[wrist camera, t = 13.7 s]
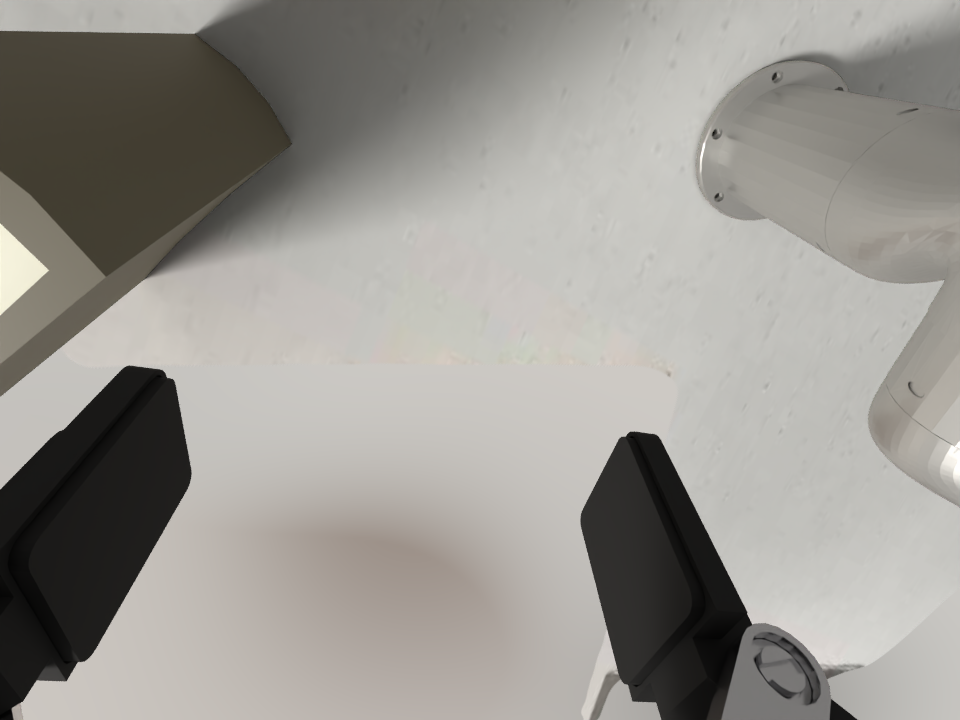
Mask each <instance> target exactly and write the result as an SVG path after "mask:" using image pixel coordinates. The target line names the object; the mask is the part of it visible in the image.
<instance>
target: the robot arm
mask: <svg viewBox="0 0 960 720" xmlns="http://www.w3.org/2000/svg"><path fill="white" fill-rule="evenodd" d="M773 74H774V77H773V78H772V76H773ZM714 130H715V133H714V134H713V135H712V132H713V131H714ZM696 176H697V180H698V184H699V188H700V190H701V192H702V194H703V195H704V197H705V199H706V200H707V201H708V202H709V203H710V204H711V205H712V206H713V207H714V208H715V209H717V210H718V211H719V212H721V213H723V214H725V215H727V216H729V217H731V218H735V219H740V220H760V219H765V218H768V219H769V220H771V221H773V222H774V223H776V224H778V225H779V226H781V227H782V228H784V229H786V230H787V231H789V232H791V233H792V234H794V235H796V236H797V237H799V238H801V239H802V240H804V241H805V242H807V243H809V244H810V245H812V246H814V247H815V248H817V249H819V250H820V251H822V252H823V253H825V254H827V255H828V256H830V257H832V258H833V259H835V260H837V261H838V262H840V263H841V264H843V265H845V266H847V267H849V268H850V269H852V270H854V271H855V272H857V273H859V274H861V275H863V276H866V277H868V278H871V279H875V280H878V281H882V282H889V283H899V284H913V283H927V282H935V281H941V280H944V283H943V285H942V286H941V288H940V290H939V292H938V293H937V295H936V297H935V298H934V300H933V302H932V303H931V305H930V306H929V308H928V312H927V313H926V315H925V317H924V318H923V320H922V321H921V323H920V324H919V326H918V327H917V329H916V330H915V332H914V334H913V335H912V337H911V338H910V340H909V341H908V343H907V344H906V346H905V347H904V349H903V351H902V352H901V354H900V355H899V357H898V358H897V360H896V361H895V363H894V364H893V366H892V368H891V369H890V371H889V372H888V374H887V376H886V378H885V379H884V381H883V382H882V384H881V386H880V387H879V389H878V391H877V393H876V395H875V397H874V398H873V401H872V403H871V406H870V409H869V414H868V426H869V430H870V434H871V437H872V438H873V440H874V442H875V444H876V445H877V447H878V448H879V450H880V451H881V452H882V453H883V454H884V455H885V457H886V458H887V459H888V460H889V461H890V462H891V463H893V464H894V465H895V466H896V467H897V468H898V469H900V470H901V471H902V472H903V473H905V474H906V475H907V476H909V477H910V478H912V479H913V480H915V481H916V482H918V483H919V484H921V485H922V486H924V487H925V488H927V489H929V490H930V491H932V492H933V493H935V494H937V495H939V496H940V497H942V498H944V499H946V500H947V501H949V502H951V503H953V504H955V505H956V506H958V507H960V110H953V109H947V108H941V107H935V106H929V105H923V104H917V103H911V102H905V101H899V100H893V99H887V98H881V97H875V96H869V95H863V94H857V93H851V92H849V89H848V87H847V85H846V84H845V82H844V81H843V79H842V78H841V76H839V75H838V74H837V73H836V72H835V71H834V70H832V69H831V68H829V67H827V66H825V65H822V64H820V63H816V62H809V61H786V62H781V63H776V64H773V65H771V66H769V67H766V68H764V69H761V70H759V71H757V72H756V73H754V74H753V75H751V76H749V77H748V78H746V79H745V80H743V81H742V82H741V83H740V84H739V85H737V86H736V87H735V88H734V89H733V90H731V91H730V93H729V94H728V95H727V96H726V97H725V98H724V99H723V100H722V102H721V103H720V104H719V105H718V107H717V108H716V110H715V111H714V113H713V114H712V116H711V117H710V119H709V121H708V123H707V125H706V127H705V129H704V131H703V133H702V136H701V139H700V143H699V146H698V150H697V158H696ZM716 194H717V195H716ZM715 195H716V196H715ZM190 480H191V466H190V461H189V455H188V450H187V444H186V439H185V434H184V429H183V424H182V417H181V412H180V407H179V402H178V396H177V390H176V385H175V382H174V380H173V379H170V378H167V377H166V374H165V372H164V371H163V370H159V369H152V368H144V367H136V366H126V367H125V368H123V369H122V370H121V371H120V372H119V373H118V374H117V375H116V376H115V377H114V378H113V379H112V380H111V381H110V382H109V383H108V385H106V387H105V388H104V389H103V390H102V391H101V392H100V393H99V394H98V395H97V396H96V397H95V398H94V399H93V400H92V401H91V402H90V403H89V404H88V405H87V406H86V407H85V408H84V409H83V410H82V411H81V412H80V413H79V415H78V416H77V417H76V418H75V419H74V420H73V421H72V422H71V423H70V424H69V425H68V426H67V427H66V428H65V429H64V430H62V431H59V432H58V433H56V434H55V435H54V436H53V437H52V438H50V440H48V441H47V443H45V445H44V446H43V447H42V448H41V449H40V450H39V451H38V452H37V453H36V454H35V455H34V456H33V457H32V458H31V459H30V460H29V461H28V462H27V463H26V464H25V465H24V466H23V467H22V468H21V469H20V470H19V471H18V472H17V473H16V474H15V475H14V476H13V477H12V478H11V479H10V480H9V481H8V482H7V483H6V484H5V486H3V487H2V489H1V490H0V720H23V716H22V710H21V705H20V703H21V702H23V701H24V699H25V697H26V696H27V694H28V693H29V691H30V690H31V688H32V686H33V685H34V683H35V682H36V680H44V681H67V679H68V678H69V676H70V674H71V673H72V671H73V669H74V668H75V666H76V664H77V663H78V662H83V661H86V660H87V659H88V658H89V657H90V656H91V655H92V654H93V652H94V650H95V649H96V648H97V646H98V644H99V642H100V641H101V639H102V637H103V635H104V634H105V632H106V630H107V628H108V627H109V625H110V623H111V621H112V620H113V618H114V616H115V614H116V613H117V611H118V609H119V607H120V606H121V604H122V602H123V601H124V599H125V597H126V595H127V593H128V592H129V590H130V588H131V586H132V585H133V583H134V581H135V580H136V578H137V576H138V574H139V573H140V571H141V569H142V567H143V566H144V564H145V562H146V560H147V559H148V557H149V555H150V553H151V552H152V550H153V548H154V546H155V545H156V543H157V541H158V540H159V538H160V536H161V534H162V533H163V531H164V529H165V527H166V526H167V524H168V522H169V520H170V519H171V517H172V515H173V513H174V512H175V510H176V508H177V506H178V505H179V503H180V501H181V499H182V498H183V496H184V494H185V492H186V491H187V489H188V486H189V484H190ZM581 528H582V532H583V536H584V540H585V544H586V548H587V552H588V556H589V560H590V564H591V567H592V571H593V575H594V579H595V583H596V587H597V591H598V595H599V599H600V603H601V606H602V610H603V614H604V618H605V622H606V626H607V630H608V634H609V638H610V642H611V646H612V650H613V653H614V657H615V661H616V665H617V669H618V673H619V676H620V678H621V680H622V682H623V683H624V684H628V686H629V689H630V693H631V697H632V701H636V702H656V703H657V706H658V710H659V713H660V716H661V720H857V719H856V718H854V717H853V716H852V715H851V714H850V713H848V712H847V711H846V710H844V709H843V708H842V707H841V706H839V705H838V704H837V703H836V702H834V701H833V700H832V699H831V695H830V686H829V684H828V681H827V679H826V676H825V674H824V671H823V670H822V668H821V667H820V665H819V664H818V662H817V660H816V659H815V657H814V656H813V655H812V654H811V653H810V652H809V651H808V650H807V648H806V647H805V646H804V645H803V644H802V643H801V642H799V641H798V640H797V639H796V638H794V637H793V636H792V635H791V634H789V633H787V632H785V631H784V630H782V629H780V628H778V627H776V626H772V625H769V624H766V623H761V624H753V625H752V623H751V621H750V619H749V617H748V615H747V611H746V609H745V607H744V605H743V603H742V601H741V599H740V597H739V595H738V593H737V591H736V589H735V587H734V585H733V583H732V581H731V579H730V577H729V575H728V573H727V571H726V569H725V567H724V565H723V563H722V561H721V559H720V557H719V555H718V553H717V551H716V549H715V547H714V545H713V543H712V541H711V539H710V537H709V535H708V533H707V531H706V529H705V527H704V525H703V523H702V521H701V519H700V517H699V515H698V513H697V511H696V509H695V507H694V505H693V503H692V501H691V499H690V497H689V495H688V493H687V491H686V489H685V487H684V485H683V483H682V481H681V479H680V477H679V475H678V473H677V471H676V469H675V467H674V465H673V463H672V461H671V459H670V457H669V455H668V453H667V451H666V449H665V447H664V445H663V443H662V441H661V440H660V438H659V437H658V436H657V435H655V434H648V433H641V432H629V433H628V434H627V436H626V437H621V438H620V439H619V440H618V442H617V444H616V446H615V448H614V450H613V452H612V454H611V456H610V458H609V460H608V461H607V463H606V465H605V467H604V469H603V471H602V473H601V475H600V477H599V479H598V481H597V483H596V485H595V487H594V489H593V491H592V493H591V495H590V496H589V499H588V500H587V502H586V504H585V506H584V508H583V511H582V513H581Z"/></svg>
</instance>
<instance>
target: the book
mask: <svg viewBox="0 0 960 720" xmlns="http://www.w3.org/2000/svg"><path fill="white" fill-rule="evenodd" d="M291 144H292V143H291V142H290V140H289V138H288V136H287V135H286V133H285V131H284V129H283V128H282V126H281V124H280V122H279V121H278V119H277V117H276V115H275V114H274V112H273V110H272V108H271V107H270V105H269V103H268V102H267V101H266V100H265V99H264V98H263V96H262V95H261V94H260V93H259V92H258V91H257V89H256V88H255V87H254V86H253V85H252V84H251V83H250V81H249V80H248V79H247V78H246V77H245V76H244V75H243V73H242V72H241V71H240V70H239V69H238V68H237V67H236V66H235V65H234V64H233V63H231V62H230V61H229V60H227V59H226V58H225V57H224V56H222V55H221V54H220V53H218V52H217V51H216V50H214V49H213V48H212V47H211V46H209V45H208V44H207V43H205V42H204V41H203V40H202V39H200V38H199V37H198V36H196V35H195V34H165V33H97V32H29V31H0V396H2V395H3V394H4V393H5V392H6V391H8V390H9V389H10V388H11V387H13V386H14V385H15V384H16V383H18V382H19V381H20V380H21V379H22V378H24V377H25V376H26V375H27V374H29V373H30V372H31V371H32V370H33V369H35V368H36V367H37V366H38V365H39V364H41V363H42V362H43V361H45V360H46V359H47V358H48V357H49V356H51V355H52V354H53V353H54V352H56V351H57V350H58V349H59V348H60V347H62V346H63V345H64V344H65V343H67V342H68V341H69V340H70V339H72V338H73V337H74V336H75V335H76V334H78V333H79V332H80V331H81V330H83V329H84V328H85V327H86V326H87V325H89V324H90V323H91V322H92V321H94V320H95V319H96V318H97V317H98V316H100V315H101V314H102V313H103V312H105V311H106V310H107V309H108V308H110V307H111V306H112V305H113V304H114V303H116V302H117V301H118V300H119V299H121V298H122V297H123V296H124V295H125V294H127V293H128V292H129V291H130V290H132V289H133V288H134V287H135V286H137V285H138V284H139V283H140V282H141V281H143V280H144V279H145V278H146V276H147V275H148V274H149V273H150V272H151V271H152V270H153V269H154V268H155V267H156V266H157V265H158V263H159V262H160V261H161V260H162V259H163V258H164V257H165V256H166V255H167V254H168V253H169V252H170V250H171V249H172V248H173V247H174V246H175V245H176V244H177V243H178V242H179V241H180V240H181V239H182V238H183V237H184V236H185V235H186V234H187V233H188V232H190V231H191V230H192V229H193V228H194V227H195V226H196V225H197V224H198V223H199V222H200V221H201V220H203V219H204V218H205V217H206V216H207V215H208V214H209V213H210V212H211V211H212V210H213V209H215V208H216V207H217V206H218V205H219V204H220V203H221V202H222V201H223V200H224V199H225V198H227V197H228V196H229V195H230V194H231V193H232V192H233V191H234V190H236V189H237V188H238V187H239V186H241V185H242V184H243V183H244V182H246V181H247V180H248V179H249V178H250V177H252V176H253V175H254V174H255V173H257V172H258V171H259V170H260V169H262V168H263V167H264V166H265V165H267V164H268V163H269V162H270V161H271V160H273V159H274V158H275V157H276V156H278V155H279V154H280V153H281V152H283V151H284V150H285V149H286V148H287V147H289V146H290V145H291Z"/></svg>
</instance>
